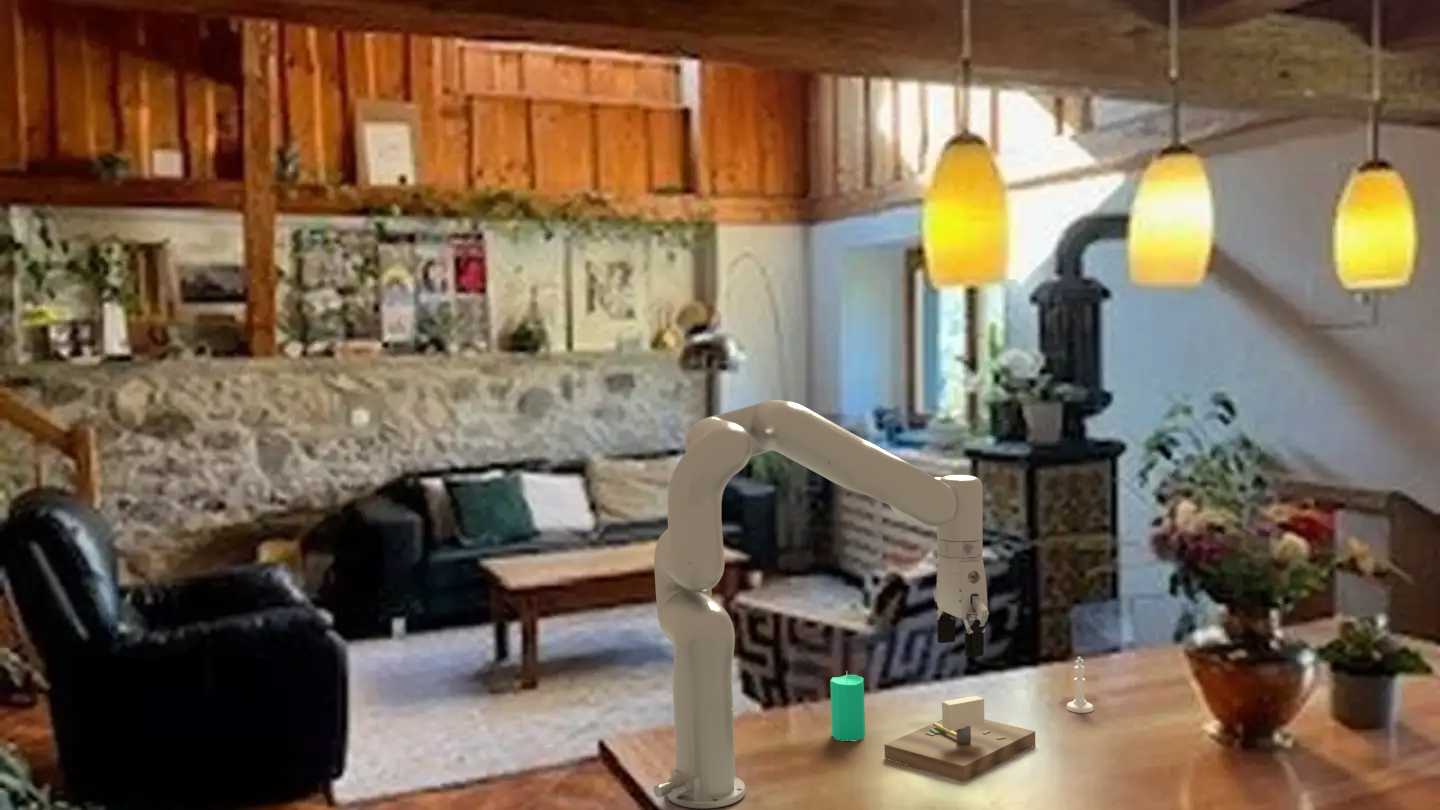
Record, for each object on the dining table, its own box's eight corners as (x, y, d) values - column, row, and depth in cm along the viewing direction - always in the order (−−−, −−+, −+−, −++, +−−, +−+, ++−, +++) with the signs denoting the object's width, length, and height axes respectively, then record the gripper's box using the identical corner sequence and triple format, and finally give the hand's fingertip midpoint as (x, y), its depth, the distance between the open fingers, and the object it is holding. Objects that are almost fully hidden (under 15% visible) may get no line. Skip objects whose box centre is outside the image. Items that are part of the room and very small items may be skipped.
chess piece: (1060, 707, 232) (1060, 656, 232) (1081, 703, 234) (1080, 652, 234) (1078, 714, 228) (1078, 662, 227) (1099, 710, 230) (1098, 658, 229)
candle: (864, 730, 223) (863, 666, 222) (865, 741, 217) (863, 675, 216) (831, 730, 223) (830, 666, 223) (831, 741, 217) (829, 675, 217)
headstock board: (964, 781, 197) (963, 764, 196) (884, 758, 208) (884, 742, 208) (1035, 745, 212) (1035, 729, 212) (957, 726, 223) (957, 711, 223)
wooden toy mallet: (985, 740, 207) (984, 698, 207) (950, 747, 205) (949, 705, 204) (951, 723, 217) (950, 684, 216) (917, 730, 214) (916, 689, 213)
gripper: (1006, 556, 198) (1006, 660, 199) (955, 539, 214) (955, 635, 215) (964, 559, 196) (964, 664, 197) (916, 542, 212) (917, 639, 213)
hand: (960, 649), depth 206 cm, fingers open, 9 cm apart
